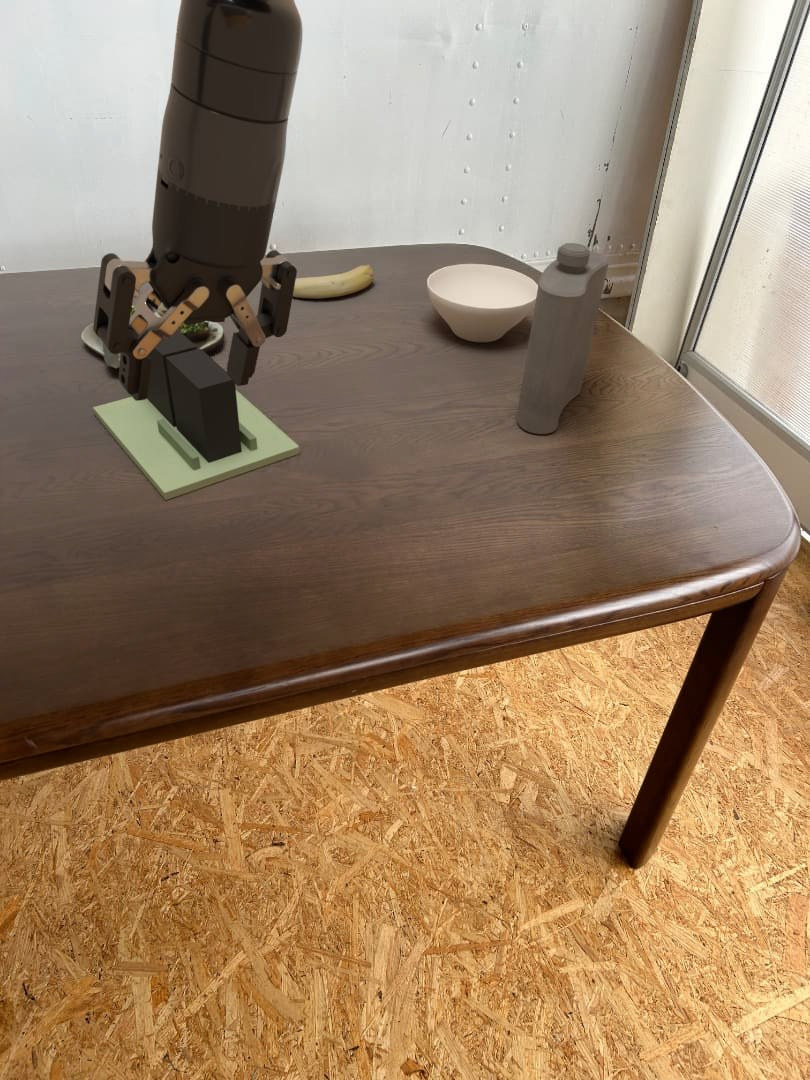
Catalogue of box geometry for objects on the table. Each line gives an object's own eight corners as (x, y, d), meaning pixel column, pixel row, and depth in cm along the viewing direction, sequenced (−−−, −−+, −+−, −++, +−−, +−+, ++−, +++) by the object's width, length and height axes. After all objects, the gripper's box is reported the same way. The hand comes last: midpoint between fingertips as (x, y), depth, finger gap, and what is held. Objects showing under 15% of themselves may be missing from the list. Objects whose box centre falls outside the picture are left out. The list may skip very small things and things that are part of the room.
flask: (543, 375, 106) (570, 224, 93) (584, 386, 104) (618, 233, 91) (504, 426, 95) (530, 263, 82) (550, 439, 94) (583, 275, 81)
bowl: (474, 367, 107) (480, 318, 102) (401, 323, 116) (403, 277, 111) (554, 338, 115) (563, 292, 110) (480, 300, 124) (485, 256, 120)
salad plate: (48, 336, 107) (40, 303, 104) (161, 301, 117) (157, 271, 114) (126, 389, 97) (119, 355, 94) (242, 346, 108) (239, 314, 105)
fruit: (385, 295, 124) (386, 275, 121) (293, 306, 118) (292, 285, 116) (368, 278, 128) (369, 258, 126) (279, 288, 123) (278, 267, 121)
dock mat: (165, 500, 81) (150, 416, 74) (94, 414, 93) (76, 335, 86) (299, 453, 89) (296, 374, 82) (218, 379, 100) (209, 305, 94)
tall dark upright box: (208, 463, 84) (198, 388, 79) (176, 429, 89) (165, 356, 83) (242, 452, 86) (234, 378, 81) (209, 419, 91) (200, 348, 85)
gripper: (281, 156, 56) (243, 351, 67) (84, 141, 47) (75, 370, 58) (340, 204, 53) (290, 402, 63) (140, 198, 44) (120, 430, 54)
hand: (187, 386), depth 60 cm, fingers open, 8 cm apart
